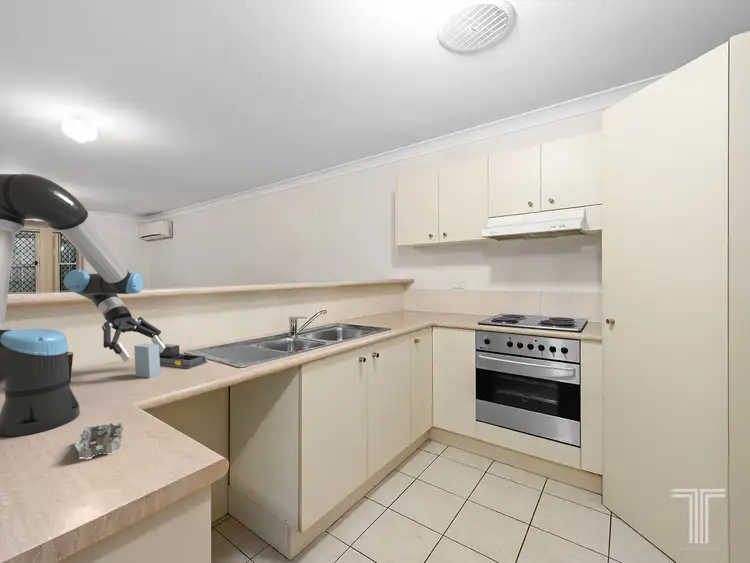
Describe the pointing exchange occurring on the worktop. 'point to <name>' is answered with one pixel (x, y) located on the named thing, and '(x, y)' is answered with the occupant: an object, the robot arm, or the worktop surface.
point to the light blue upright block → (147, 360)
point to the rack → (179, 358)
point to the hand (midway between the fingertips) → (146, 354)
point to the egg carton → (99, 439)
